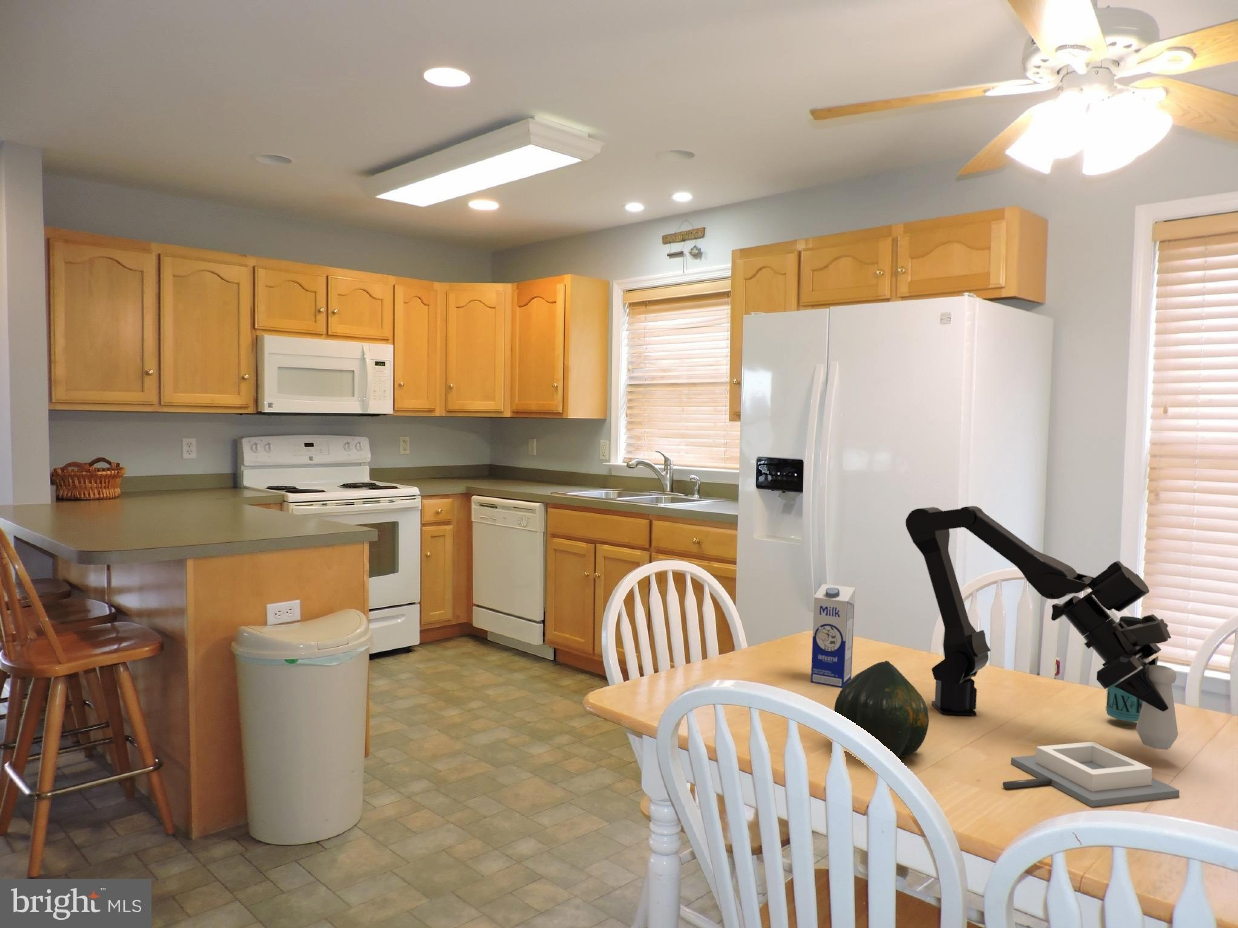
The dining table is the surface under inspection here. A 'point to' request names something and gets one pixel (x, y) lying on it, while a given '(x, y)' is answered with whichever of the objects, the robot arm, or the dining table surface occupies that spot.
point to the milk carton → (832, 635)
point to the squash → (886, 708)
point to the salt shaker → (1159, 712)
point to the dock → (1091, 774)
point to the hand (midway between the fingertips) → (1168, 707)
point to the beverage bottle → (1119, 700)
